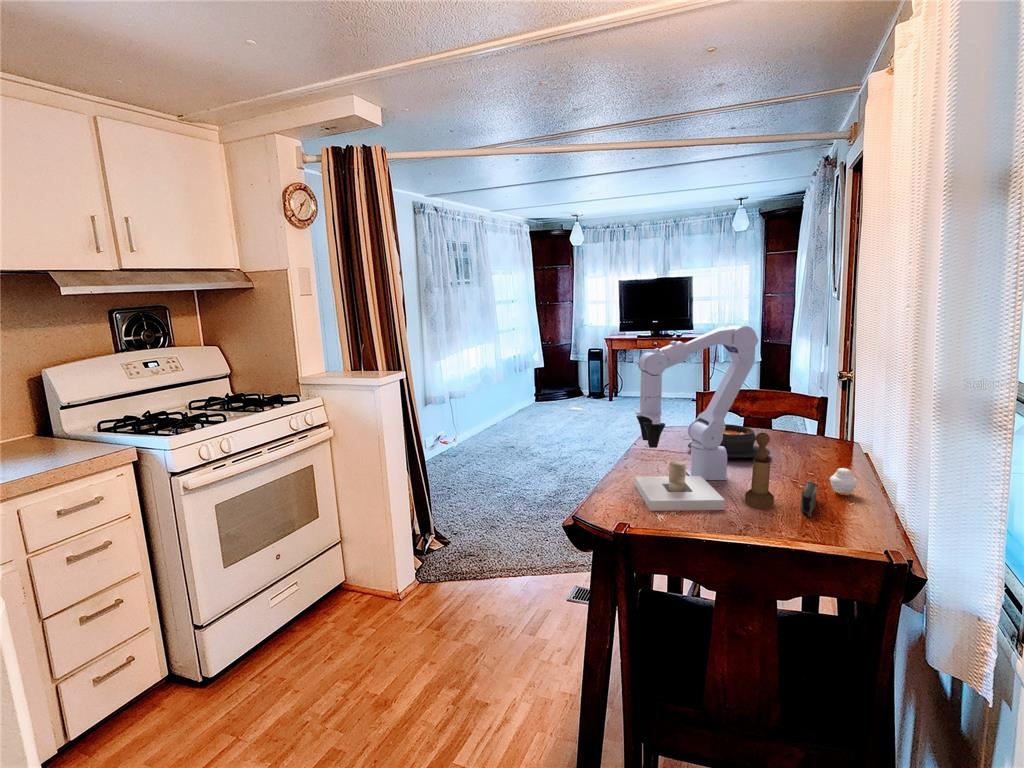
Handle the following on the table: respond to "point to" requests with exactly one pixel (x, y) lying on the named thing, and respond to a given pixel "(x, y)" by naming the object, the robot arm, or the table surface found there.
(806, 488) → the dark grey oblong block
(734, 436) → the casserole
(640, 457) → the table surface
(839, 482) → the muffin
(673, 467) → the peg
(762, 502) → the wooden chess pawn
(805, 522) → the table surface
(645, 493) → the socket
